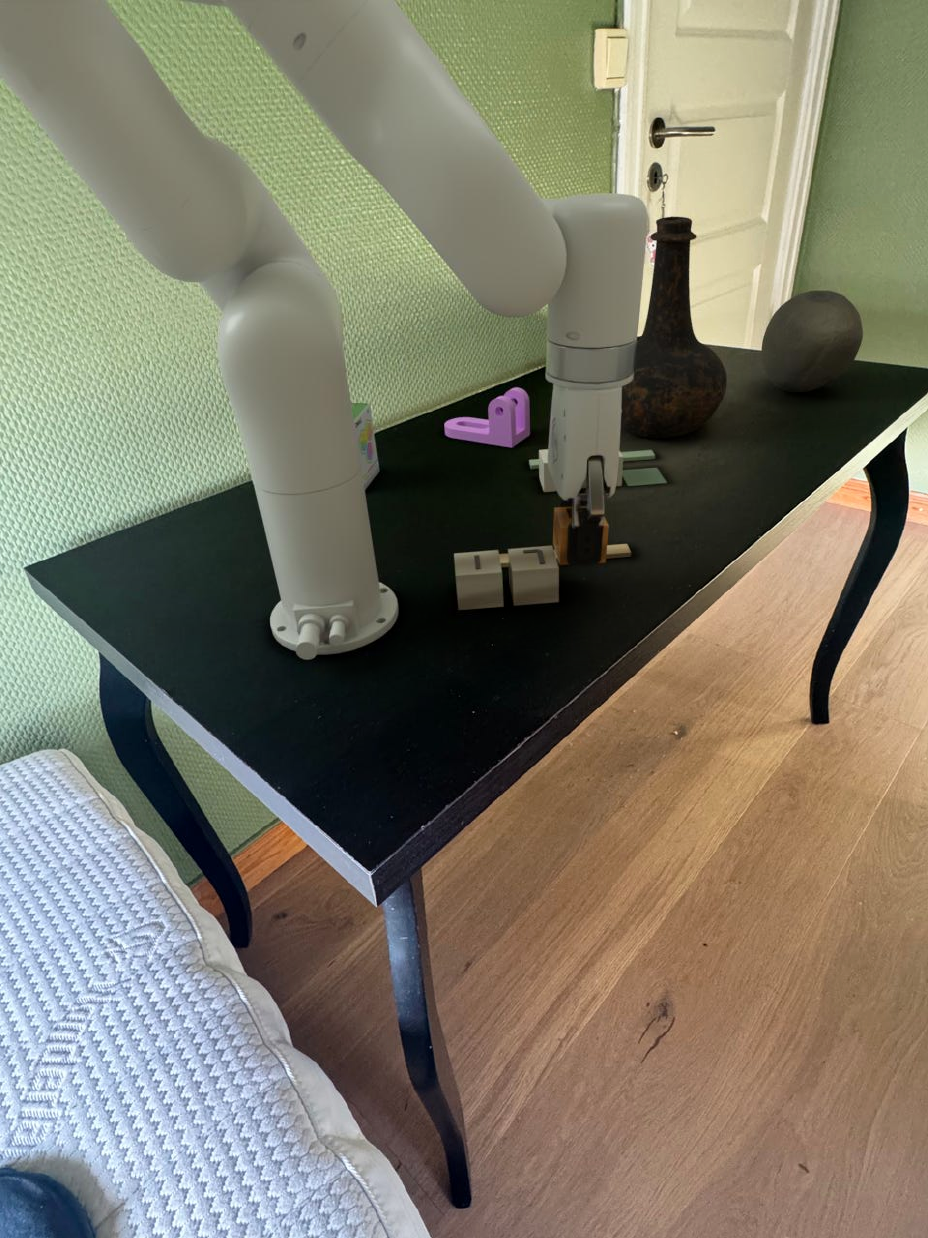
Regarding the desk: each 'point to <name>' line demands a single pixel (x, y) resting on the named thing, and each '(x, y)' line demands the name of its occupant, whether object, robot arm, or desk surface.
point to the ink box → (365, 441)
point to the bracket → (496, 422)
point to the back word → (629, 476)
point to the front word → (513, 576)
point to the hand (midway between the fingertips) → (578, 547)
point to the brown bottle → (671, 349)
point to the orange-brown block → (561, 534)
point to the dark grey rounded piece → (811, 340)
